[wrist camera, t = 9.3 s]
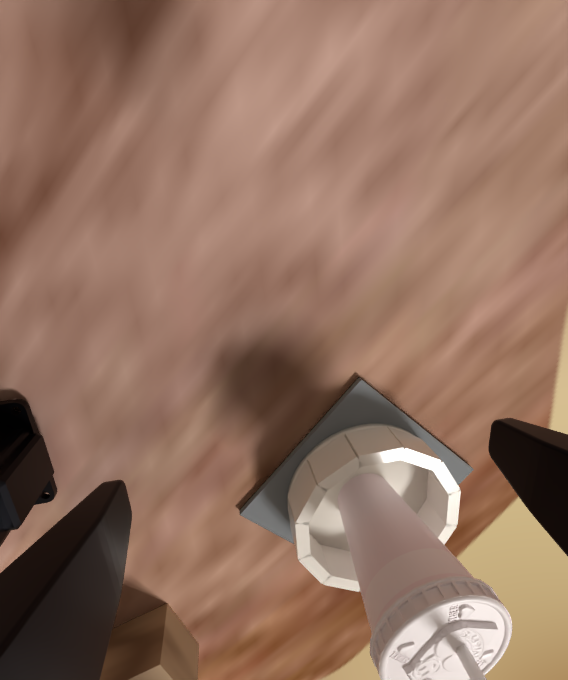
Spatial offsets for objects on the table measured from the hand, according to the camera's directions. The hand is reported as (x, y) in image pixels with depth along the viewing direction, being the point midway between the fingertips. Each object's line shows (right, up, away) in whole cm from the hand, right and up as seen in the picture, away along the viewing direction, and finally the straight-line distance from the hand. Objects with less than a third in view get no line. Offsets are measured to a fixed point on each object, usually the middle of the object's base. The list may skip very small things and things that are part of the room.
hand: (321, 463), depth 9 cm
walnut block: (-11, -19, +18) cm, 28 cm away
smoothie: (+4, -8, +16) cm, 19 cm away
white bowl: (+5, -8, +17) cm, 19 cm away
